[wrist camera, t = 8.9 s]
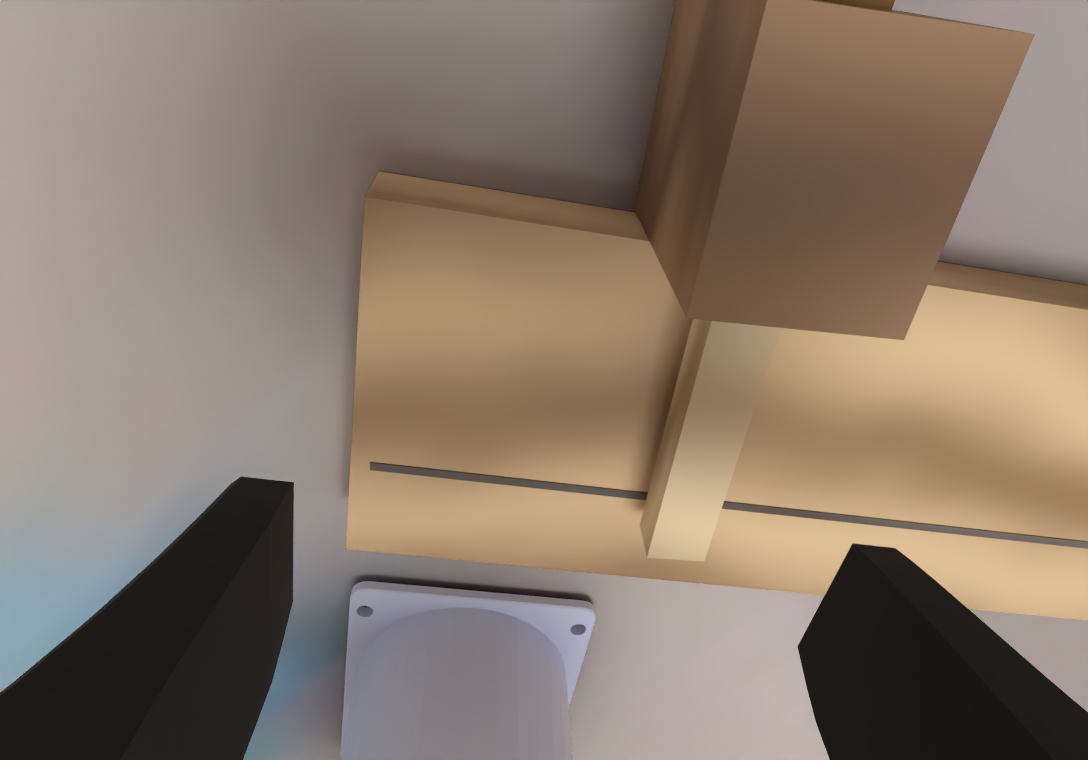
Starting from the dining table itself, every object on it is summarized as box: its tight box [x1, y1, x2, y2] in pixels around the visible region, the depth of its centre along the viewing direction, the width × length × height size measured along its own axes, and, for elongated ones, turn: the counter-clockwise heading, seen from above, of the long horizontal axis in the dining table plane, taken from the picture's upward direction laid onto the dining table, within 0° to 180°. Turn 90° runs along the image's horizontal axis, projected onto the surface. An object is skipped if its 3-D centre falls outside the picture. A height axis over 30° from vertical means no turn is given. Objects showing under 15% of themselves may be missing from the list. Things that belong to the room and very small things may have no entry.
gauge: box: [635, 0, 1035, 561], centre depth 16 cm, size 14×4×6 cm, turn 173°
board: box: [346, 171, 1088, 620], centre depth 20 cm, size 10×24×2 cm, turn 80°
